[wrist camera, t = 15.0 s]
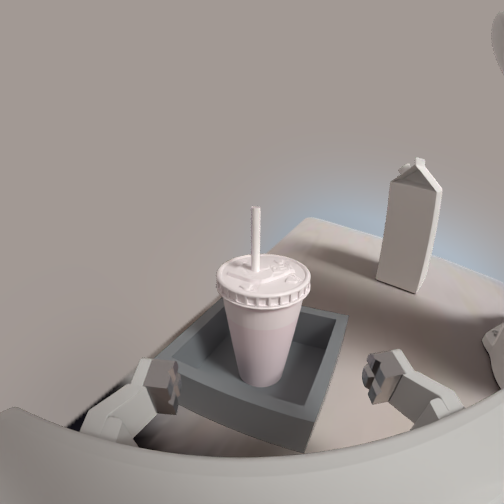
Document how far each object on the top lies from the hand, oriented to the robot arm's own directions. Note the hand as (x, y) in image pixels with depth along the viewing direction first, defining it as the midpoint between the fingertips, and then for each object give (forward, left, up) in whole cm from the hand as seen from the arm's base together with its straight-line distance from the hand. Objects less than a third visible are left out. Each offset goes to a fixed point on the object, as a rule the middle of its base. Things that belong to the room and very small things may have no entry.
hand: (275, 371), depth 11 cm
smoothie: (-3, -8, -9) cm, 13 cm away
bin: (-3, -8, -10) cm, 13 cm away
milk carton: (-31, -16, -10) cm, 36 cm away
